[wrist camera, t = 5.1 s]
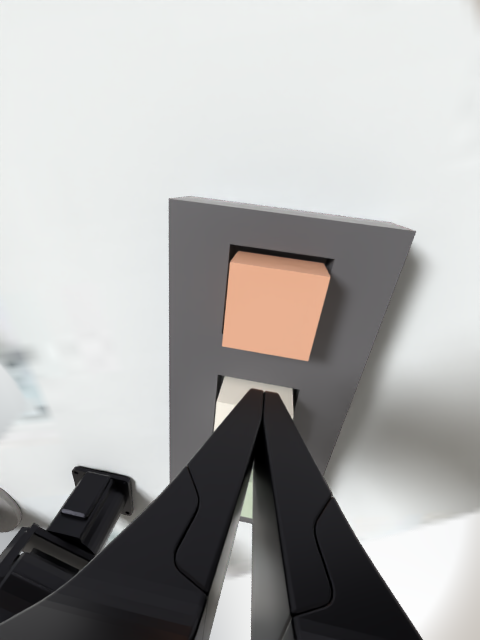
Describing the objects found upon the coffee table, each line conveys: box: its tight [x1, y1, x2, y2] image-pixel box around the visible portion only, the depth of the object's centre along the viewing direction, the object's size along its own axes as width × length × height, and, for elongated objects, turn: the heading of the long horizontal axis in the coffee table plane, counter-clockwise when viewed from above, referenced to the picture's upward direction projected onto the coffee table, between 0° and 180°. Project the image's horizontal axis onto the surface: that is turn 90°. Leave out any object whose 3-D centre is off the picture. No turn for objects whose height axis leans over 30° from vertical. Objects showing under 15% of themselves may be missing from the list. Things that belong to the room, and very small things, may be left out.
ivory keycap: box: [214, 376, 294, 431], centre depth 19 cm, size 5×5×2 cm
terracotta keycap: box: [222, 251, 330, 361], centre depth 15 cm, size 5×5×2 cm
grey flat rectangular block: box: [169, 196, 416, 524], centre depth 21 cm, size 26×12×4 cm, turn 174°
